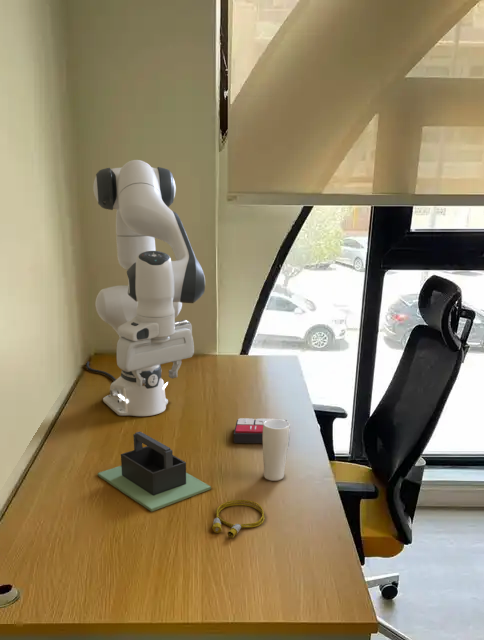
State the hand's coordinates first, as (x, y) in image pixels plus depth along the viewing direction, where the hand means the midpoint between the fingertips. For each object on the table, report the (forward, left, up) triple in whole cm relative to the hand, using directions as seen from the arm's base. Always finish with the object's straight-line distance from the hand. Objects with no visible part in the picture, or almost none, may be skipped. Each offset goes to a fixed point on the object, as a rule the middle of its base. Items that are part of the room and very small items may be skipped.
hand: (157, 381), depth 166 cm
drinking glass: (+19, +23, -26) cm, 39 cm away
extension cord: (+29, +1, -26) cm, 39 cm away
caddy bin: (+2, -3, -25) cm, 25 cm away
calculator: (-2, +38, -26) cm, 46 cm away
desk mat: (+2, -3, -26) cm, 26 cm away
